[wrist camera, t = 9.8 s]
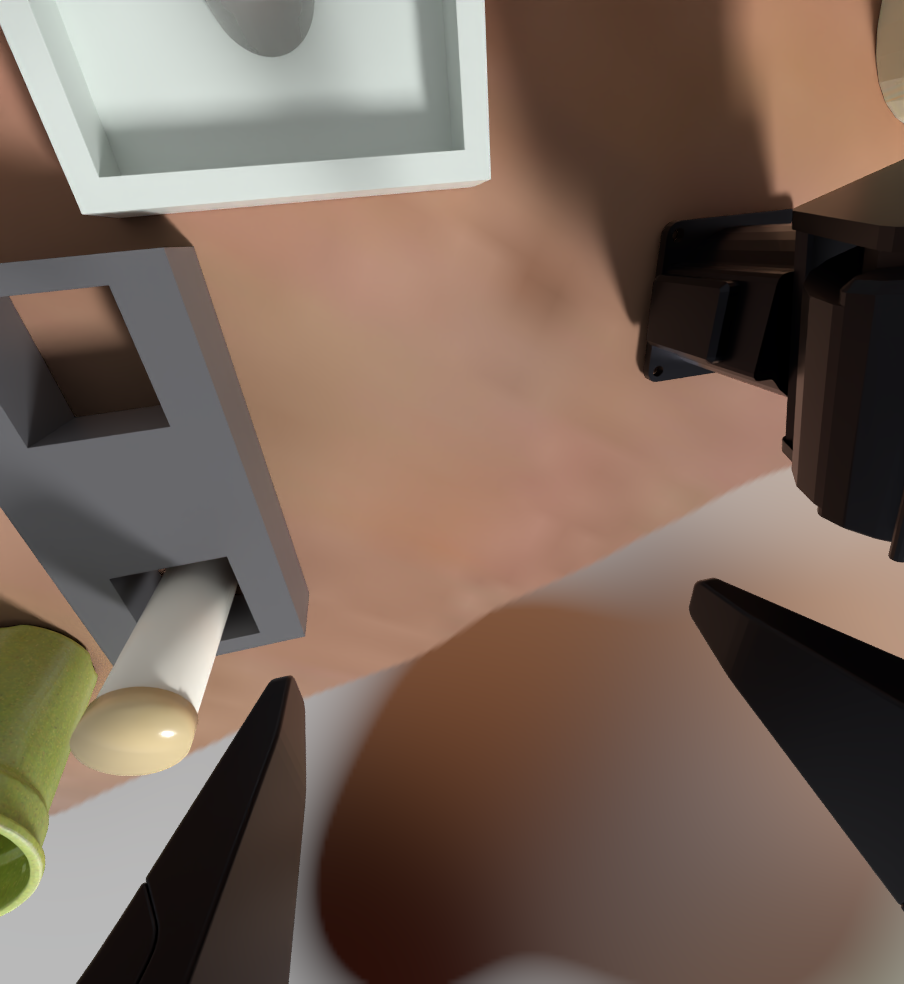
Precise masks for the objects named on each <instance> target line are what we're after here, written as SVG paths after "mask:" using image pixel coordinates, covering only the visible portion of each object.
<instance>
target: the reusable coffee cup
mask: <svg viewBox="0 0 904 984" xmlns="http://www.w3.org/2000/svg"><path fill="white" fill-rule="evenodd" d="M876 62H877V71H878V79H879V84H880V87H881V90H882V93H883V96H884V99H885V102H886V104H887V105H888V107H889V108H890V110H891V111H892V113H893V114H894V116H895V117H896V118H897V119H898V120H900V121H901V122H903V123H904V0H882V4H881V10H880V15H879V21H878V27H877V46H876Z"/></svg>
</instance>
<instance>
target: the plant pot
mask: <svg viewBox="0 0 904 984" xmlns="http://www.w3.org/2000/svg"><path fill="white" fill-rule="evenodd" d="M97 677H98V676H97V674H96V673H95V671H94V668H93V665H92V662H91V658H90V654H89V653H88V652H87V651H86V650H85V649H84V648H83V647H82V646H81V645H79V644H78V643H76V642H75V641H73V640H72V639H70V638H68V637H66V636H64V635H62V634H59V633H57V632H54V631H51V630H48V629H44V628H40V627H36V626H30V625H18V626H13V627H6V628H0V916H3V915H4V914H6V913H9V912H11V911H12V910H14V909H15V908H16V907H18V906H19V905H21V904H22V903H23V902H24V901H26V900H27V899H28V898H29V897H30V896H31V895H32V894H33V892H34V891H35V890H36V888H37V887H38V885H39V883H40V880H41V878H42V875H43V872H44V868H45V855H44V851H43V849H42V845H43V842H44V839H45V836H46V833H47V830H48V825H49V815H48V812H49V809H50V806H51V803H52V800H53V798H54V795H55V792H56V789H57V787H58V784H59V781H60V778H61V776H62V773H63V770H64V767H65V765H66V762H67V759H68V756H69V754H70V751H71V749H70V738H71V736H72V734H73V732H74V730H75V728H76V727H77V725H78V723H79V721H80V719H81V717H82V716H83V714H84V712H85V710H86V708H87V706H88V703H89V700H90V697H91V695H92V692H93V689H94V687H95V684H96V681H97Z"/></svg>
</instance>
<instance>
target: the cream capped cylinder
mask: <svg viewBox="0 0 904 984" xmlns="http://www.w3.org/2000/svg"><path fill="white" fill-rule="evenodd" d="M205 2H206V3H207V5H208V7H209V9H210V10H211V12H212V14H213V16H214V17H215V19H216V20H217V22H218V23H219V25H220V26H221V27H222V29H223V30H224V31H225V32H226V33H227V34H228V35H229V37H230V38H231V39H233V40H234V41H235V42H236V43H237V44H238V45H240V46H241V47H243V48H244V49H246V50H248V51H250V52H252V53H254V54H257V55H260V56H265V57H279V56H283V55H286V54H288V53H290V52H292V51H293V50H294V49H296V48H297V47H298V46H299V45H300V44H301V43H302V42H303V40H304V38H305V37H306V35H307V33H308V31H309V29H310V26H311V23H312V19H313V13H314V3H315V1H314V0H205Z"/></svg>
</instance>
